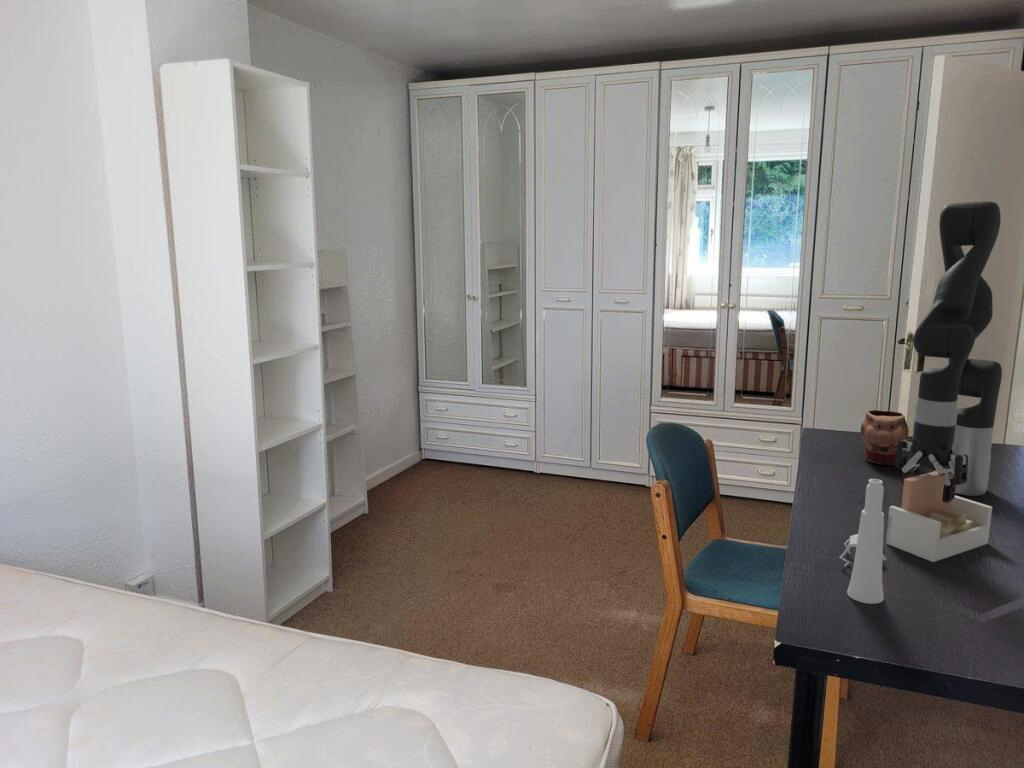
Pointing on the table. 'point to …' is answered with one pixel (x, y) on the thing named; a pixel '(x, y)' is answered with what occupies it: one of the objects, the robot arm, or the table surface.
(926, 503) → the board
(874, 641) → the table surface
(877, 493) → the cosmetic bottle
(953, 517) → the offcut small
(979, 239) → the robot arm
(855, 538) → the origami figure
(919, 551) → the rack
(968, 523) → the offcut mid
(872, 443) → the decorative planter
